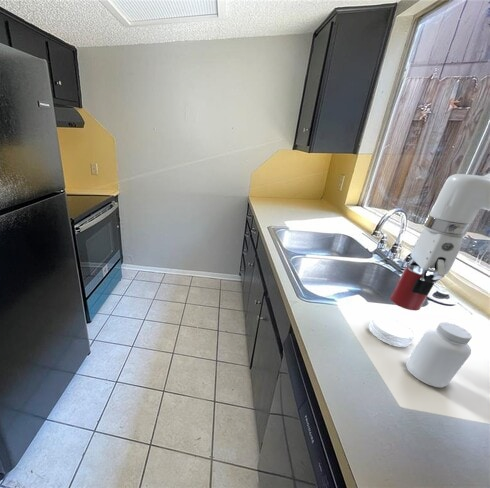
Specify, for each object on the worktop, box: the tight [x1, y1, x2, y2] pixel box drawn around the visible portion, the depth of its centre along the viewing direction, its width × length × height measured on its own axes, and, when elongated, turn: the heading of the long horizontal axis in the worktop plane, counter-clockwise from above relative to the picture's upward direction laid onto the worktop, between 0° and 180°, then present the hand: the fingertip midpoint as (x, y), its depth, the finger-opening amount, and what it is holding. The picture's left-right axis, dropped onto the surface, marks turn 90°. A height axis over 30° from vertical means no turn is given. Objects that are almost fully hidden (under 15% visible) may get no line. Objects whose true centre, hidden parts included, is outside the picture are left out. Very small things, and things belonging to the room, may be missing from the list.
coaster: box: [368, 315, 415, 348], centre depth 78 cm, size 10×10×4 cm
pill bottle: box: [405, 322, 472, 388], centre depth 63 cm, size 8×8×15 cm
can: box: [389, 264, 434, 311], centre depth 71 cm, size 7×7×11 cm
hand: (413, 285), depth 71 cm, fingers closed on can, 6 cm apart
